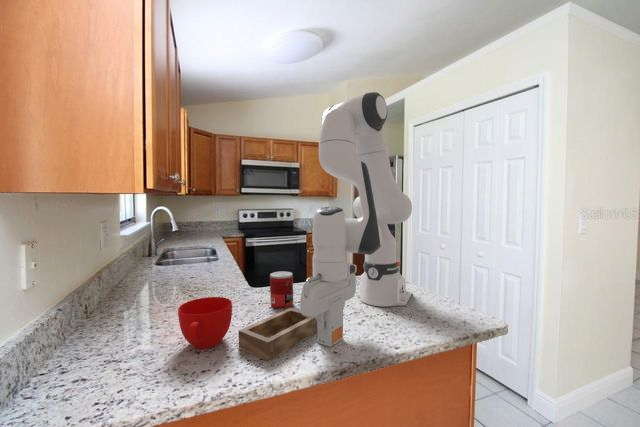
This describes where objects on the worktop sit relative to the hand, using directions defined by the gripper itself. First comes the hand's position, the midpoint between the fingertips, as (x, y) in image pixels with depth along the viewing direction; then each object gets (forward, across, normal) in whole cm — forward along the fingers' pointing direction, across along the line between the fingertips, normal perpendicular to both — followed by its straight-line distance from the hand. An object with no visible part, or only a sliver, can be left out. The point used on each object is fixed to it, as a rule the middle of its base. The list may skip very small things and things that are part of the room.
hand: (330, 323), depth 78 cm
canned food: (+5, +12, +29) cm, 32 cm away
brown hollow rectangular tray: (+5, -7, +11) cm, 14 cm away
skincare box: (+5, 0, 0) cm, 5 cm away
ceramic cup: (+5, -21, +24) cm, 32 cm away
